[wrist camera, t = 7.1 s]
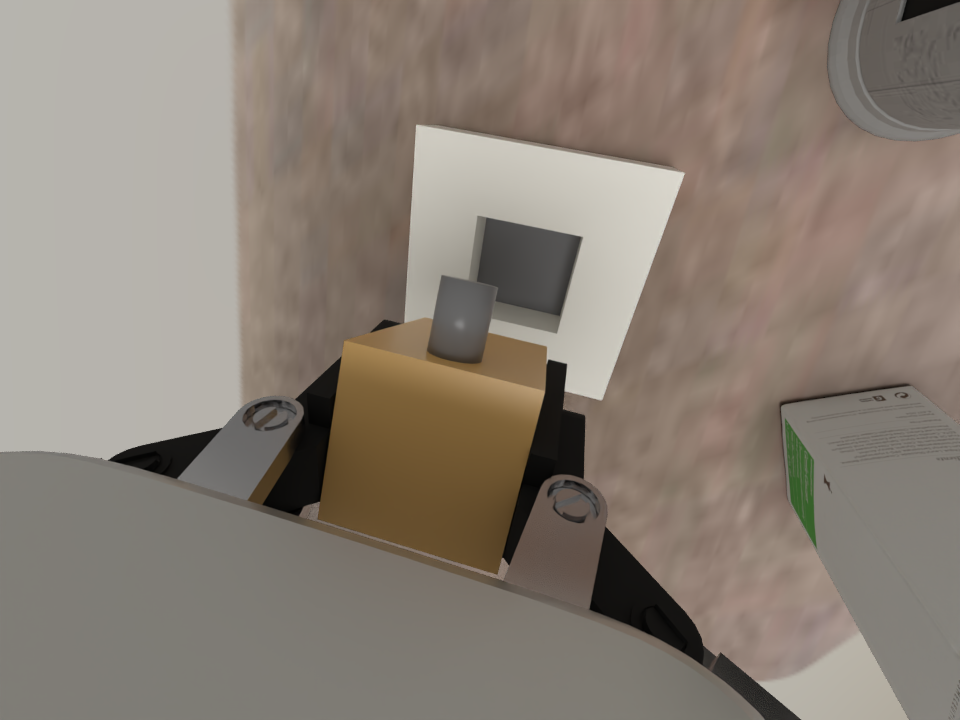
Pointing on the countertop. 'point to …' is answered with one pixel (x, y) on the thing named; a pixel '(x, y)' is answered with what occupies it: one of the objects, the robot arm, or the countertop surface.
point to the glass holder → (897, 66)
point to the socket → (538, 240)
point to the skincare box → (887, 529)
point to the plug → (435, 430)
